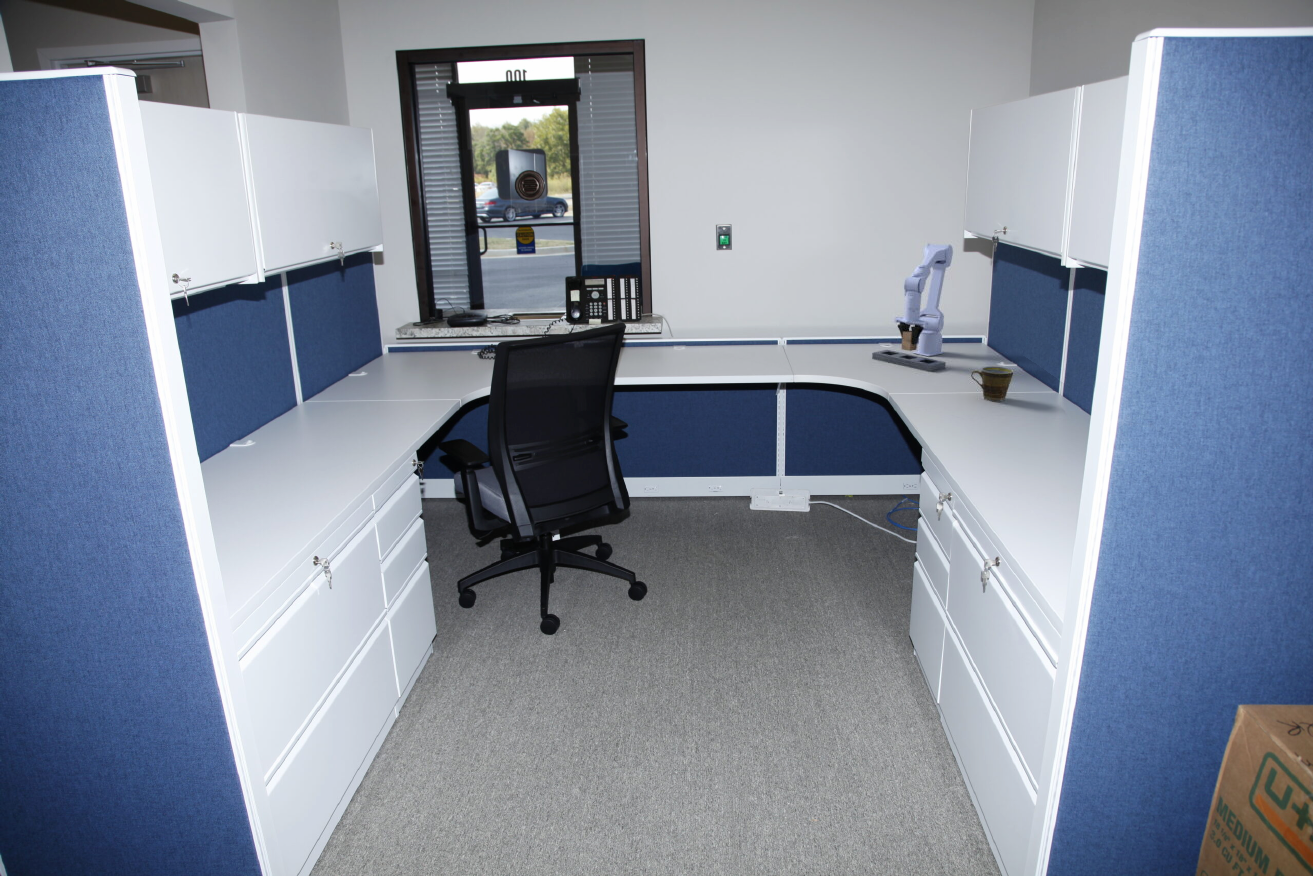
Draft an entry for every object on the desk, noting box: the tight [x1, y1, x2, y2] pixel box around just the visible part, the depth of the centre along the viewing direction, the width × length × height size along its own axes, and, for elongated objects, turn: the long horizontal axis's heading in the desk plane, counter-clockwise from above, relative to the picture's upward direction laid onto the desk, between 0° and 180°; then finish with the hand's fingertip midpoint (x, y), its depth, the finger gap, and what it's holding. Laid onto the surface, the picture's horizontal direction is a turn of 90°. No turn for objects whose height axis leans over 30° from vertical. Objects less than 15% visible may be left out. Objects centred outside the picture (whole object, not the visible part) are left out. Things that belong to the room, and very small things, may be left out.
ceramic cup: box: [971, 366, 1014, 402], centre depth 282 cm, size 13×10×10 cm
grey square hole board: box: [871, 349, 947, 373], centre depth 332 cm, size 9×28×2 cm, turn 36°
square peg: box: [901, 329, 918, 352], centre depth 329 cm, size 4×4×7 cm
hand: (909, 343), depth 330 cm, fingers closed on square peg, 4 cm apart
